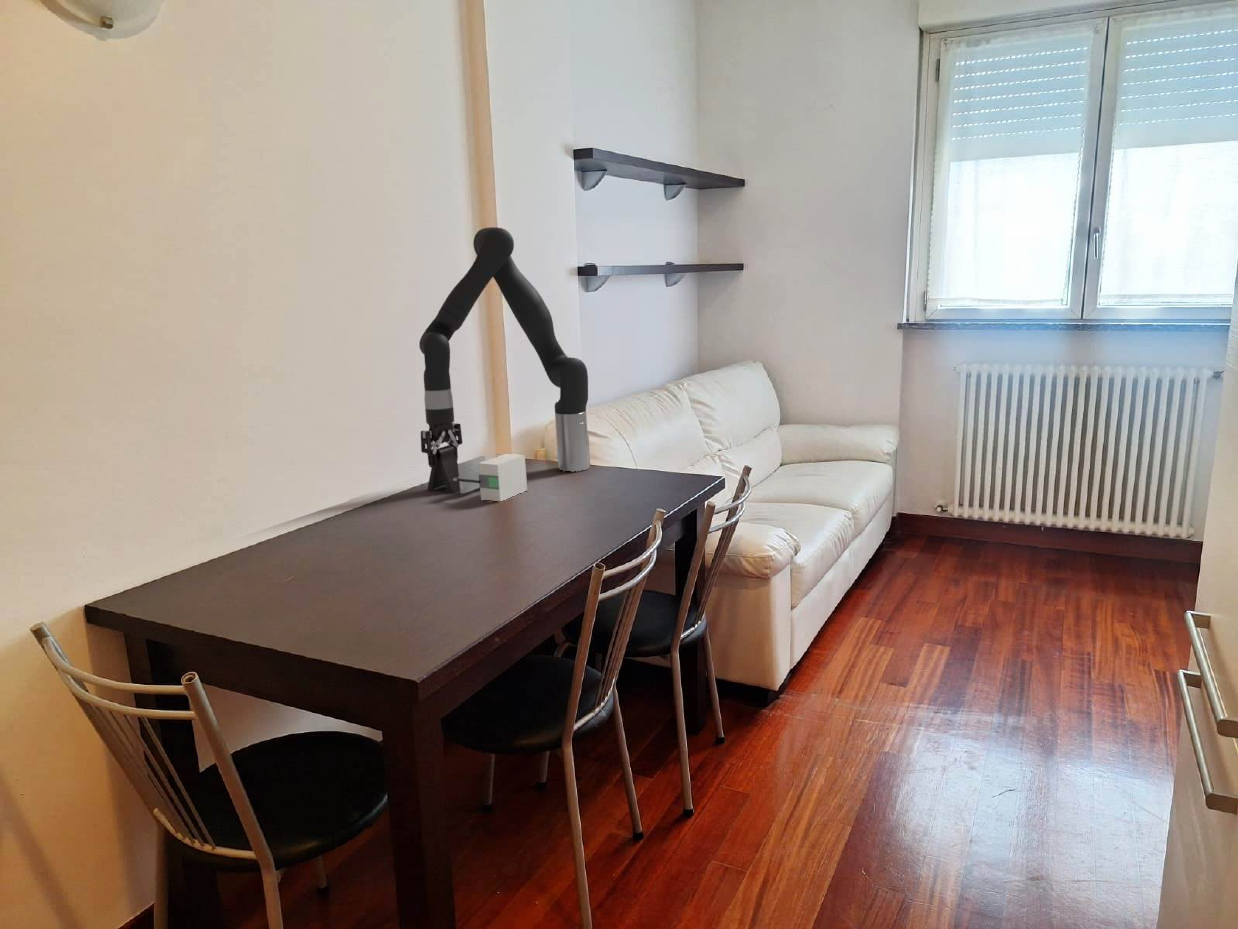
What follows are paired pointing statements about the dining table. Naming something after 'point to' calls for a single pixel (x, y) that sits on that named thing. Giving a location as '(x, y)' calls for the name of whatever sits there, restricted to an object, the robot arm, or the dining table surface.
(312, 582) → the dining table surface
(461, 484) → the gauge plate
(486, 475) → the box
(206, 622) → the dining table surface
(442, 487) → the phone stand
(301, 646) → the dining table surface
